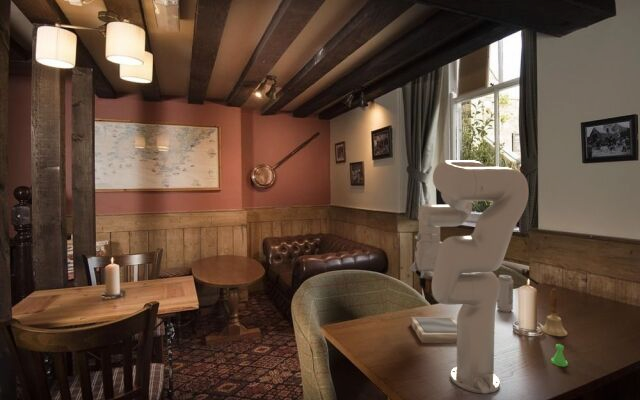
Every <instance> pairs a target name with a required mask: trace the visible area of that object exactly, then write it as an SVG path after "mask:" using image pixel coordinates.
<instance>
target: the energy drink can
mask: <svg viewBox="0 0 640 400" xmlns="http://www.w3.org/2000/svg"><path fill="white" fill-rule="evenodd" d="M497 278H498V281H499V286H500V288H499V295H498V299H497V304H496V309H498V311H499V310H500V311H499V312H501V311H503V312H502V313H505V312H510V311H511V312H512V311H513V309H514V308H513V307H514V306H513V305H514V279H513V278H512V275H507V274H499V275H498V277H497ZM511 312H510V313H511Z"/></svg>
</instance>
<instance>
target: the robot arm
mask: <svg viewBox="0 0 640 400" xmlns="http://www.w3.org/2000/svg"><path fill="white" fill-rule="evenodd" d="M432 183H433V185H434V187H435V188H436V190H437V191H439V192H440V196H441V198H442V201H443V202H444V204H421V205H419V206H418V233H417V234H415V235H414V239H415V240H418V241H416V246H415V252H414V261H413V263H412V264H411V266H410V267H409V269H410V271H413V272H414V274H416V275H417V276H418V277H419V278H418V279H419V280H418V281H419V283H418V284H419V286H420V288H421V289H422V290H423V289H425V278H424V276H425V273H426V271H433V274H432V277H433V278H432V293H433V294H432V296H433V298H434V300H435V301H436V302H438V304H441V305H461V307H460V308H459V310H458V314H457V317H456V322H457V343H456V365H455V366H456V367H453V368H452V369H451V371H450V379H451V380H452V382H453V383H454V384H455V385H456V386H457V387H458V388H459V387H460V388H462V389H463V390H465V391H468V392H472V393H476V394H490V393H491V394H492V393H494V392H496V391H498V390H499V389H500V386H501V381H500V379H499V377H498V376H496V375H495V373H494V370H495V365H494V364H495V363H494V362H495V328H496V327H495V320H496V319H495V318H496V309H497V299H498V295H499V288H500V286H499V281H498V278H499V277H497V275H496V273H494V272H495V271H497V270H499V269H500V268H501V266H502V263H503V261H504V259H505V256H506V253H507V250H508V248H509V246H510V245H509V244H510V242H511V239H512V236H513V232H514V230H515V228H516V226H517V223H519V220H520V219H521V217H522V216H523V214H524V211H525V209H526V207H527V204H528V200H529V184H528V180H527V178H526V176H525V175H524V174H523V172H521V171H519V170H517V169H515V168H511V167H503V166H502V167H501V166H486V165H485V164H484V163H482V162H480V161H477V160H471V159H470V160H469V159H468V160H467V159H466V160H465V159H462V160H459V159H457V160H455V159H454V160H453V159H452V160H450V159H447V160H442V161H441V162H439V163H438V164H436V166H435V168H434V170H433V173H432ZM472 202H492V203H491V204H490V205H489V206H488V207H487V208H486V209H484V210H483V212H481V214H480V215H479V216H478V218H477V220H476V222H475V225H474V230H473V232H472V233H471V234H469V235H454V236H453V235H451V236H449V237H447V238H445V239H444V240H443V241H441V228H442V227H458V226H461V225H463V224H464V223H465V222H466V221H468V219H470V217H471V214H472V211H473V204H472Z"/></svg>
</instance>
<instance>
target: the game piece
mask: <svg viewBox="0 0 640 400" xmlns="http://www.w3.org/2000/svg"><path fill="white" fill-rule="evenodd" d="M564 348H565V346H564V345H563V344H561V343H556V344H555V347H554V349H556V351H555V352H556V353H555V354H554V356H553V357H551V359H550V361H551V363H552V364H553V365H556V366H557V367H564V368H565V367H568V365H569V363H568V361H567V360H566V359H565V356H564V354H563V351H564Z"/></svg>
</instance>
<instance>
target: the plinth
mask: <svg viewBox="0 0 640 400" xmlns="http://www.w3.org/2000/svg"><path fill="white" fill-rule="evenodd" d="M410 325H411V327H412V329H413V330H414V331H415V334H416V335H417V337H418V338H419V341H421V343H422V344H423V343H424V344H434V343H435V344H438V343H440V344H445V343H446V344H447V343H449V344H450V343H452V344H455V343H456V344H457V319H455V318H454V317H453V316H411V317H410Z"/></svg>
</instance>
